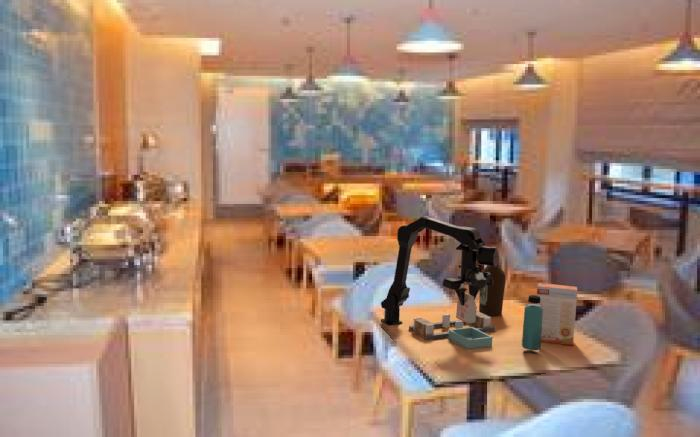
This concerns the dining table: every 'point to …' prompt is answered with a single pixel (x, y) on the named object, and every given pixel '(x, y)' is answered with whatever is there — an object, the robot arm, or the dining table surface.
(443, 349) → the dining table surface
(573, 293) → the cracker box
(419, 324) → the walnut block
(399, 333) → the dining table surface
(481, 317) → the walnut block
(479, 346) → the teal tray
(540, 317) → the beverage bottle
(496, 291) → the olive oil
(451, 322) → the clip holder
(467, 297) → the tea bag
